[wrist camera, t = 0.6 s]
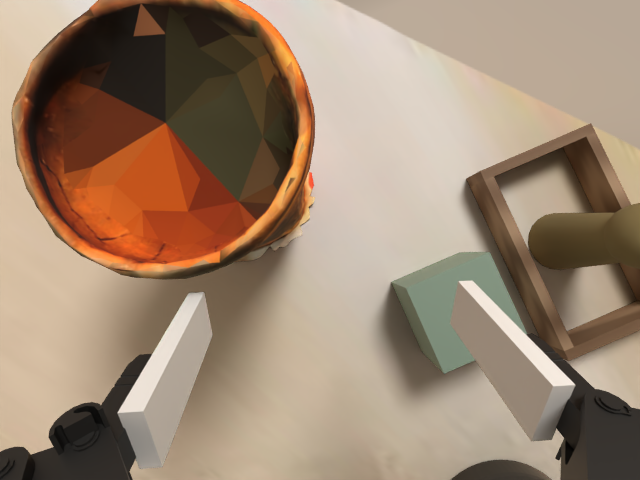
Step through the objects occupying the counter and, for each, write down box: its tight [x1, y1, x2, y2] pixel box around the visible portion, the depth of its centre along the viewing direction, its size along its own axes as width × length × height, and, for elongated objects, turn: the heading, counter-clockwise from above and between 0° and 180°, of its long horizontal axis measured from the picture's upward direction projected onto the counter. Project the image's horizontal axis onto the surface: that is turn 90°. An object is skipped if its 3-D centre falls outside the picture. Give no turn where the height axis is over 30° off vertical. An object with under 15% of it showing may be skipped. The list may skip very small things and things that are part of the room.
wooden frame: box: [467, 124, 640, 361], centre depth 31 cm, size 20×12×3 cm, turn 23°
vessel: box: [12, 0, 315, 279], centre depth 24 cm, size 14×14×20 cm
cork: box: [528, 203, 640, 270], centre depth 27 cm, size 6×6×11 cm
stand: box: [391, 252, 527, 374], centre depth 30 cm, size 8×8×6 cm
